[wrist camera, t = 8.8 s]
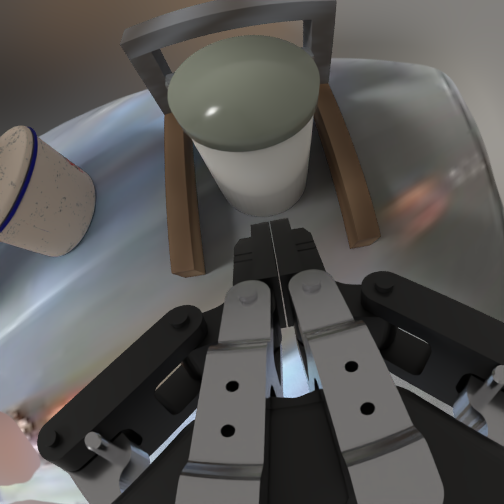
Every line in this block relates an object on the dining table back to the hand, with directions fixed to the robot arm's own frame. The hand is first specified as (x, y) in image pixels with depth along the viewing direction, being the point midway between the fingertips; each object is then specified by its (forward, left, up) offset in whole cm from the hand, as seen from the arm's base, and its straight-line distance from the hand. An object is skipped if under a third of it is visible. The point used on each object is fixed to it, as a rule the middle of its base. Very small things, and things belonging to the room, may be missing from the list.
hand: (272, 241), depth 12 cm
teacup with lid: (-20, +8, -8) cm, 23 cm away
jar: (0, +7, -8) cm, 10 cm away
